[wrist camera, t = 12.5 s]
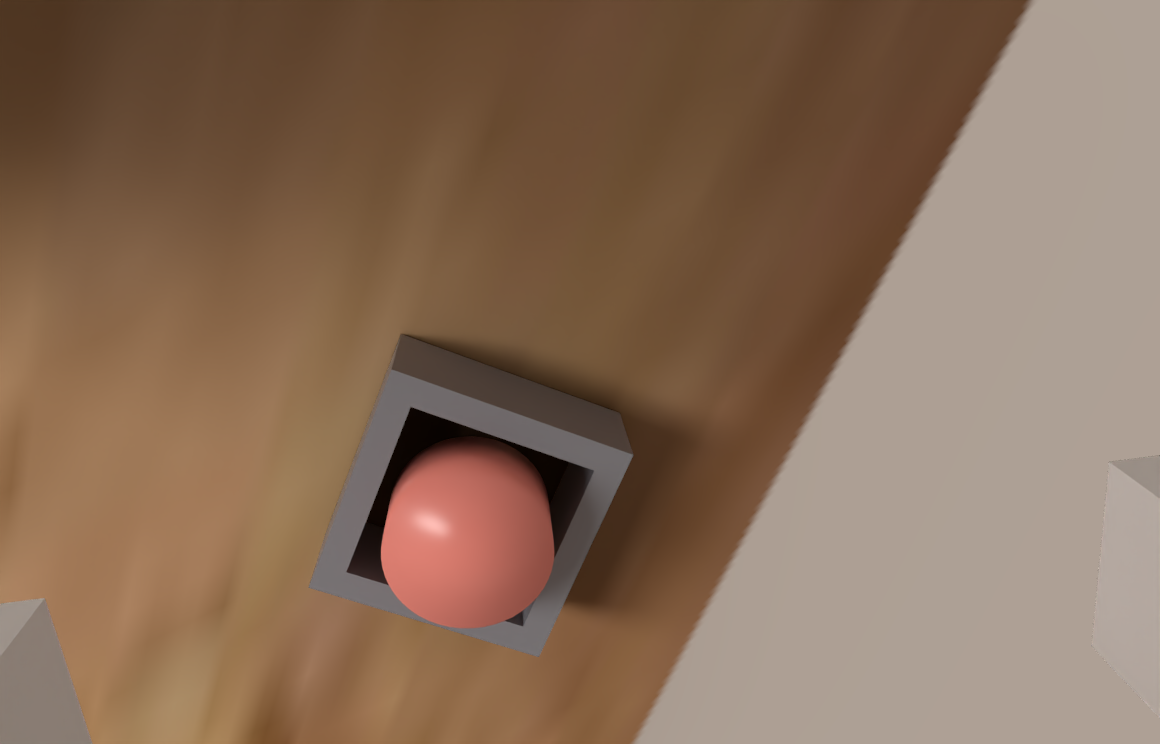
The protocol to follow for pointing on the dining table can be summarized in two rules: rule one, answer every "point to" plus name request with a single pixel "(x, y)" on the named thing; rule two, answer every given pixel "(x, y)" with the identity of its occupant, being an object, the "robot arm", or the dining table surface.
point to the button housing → (499, 411)
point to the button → (468, 533)
